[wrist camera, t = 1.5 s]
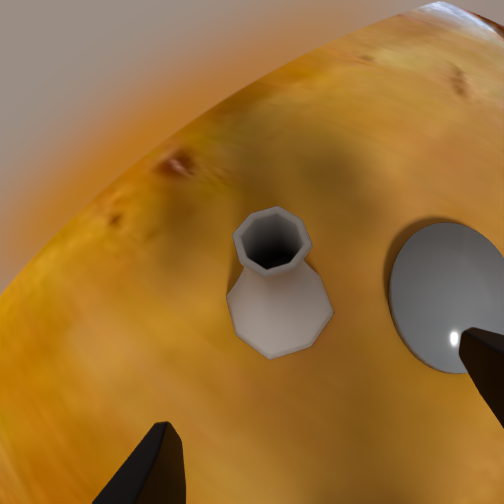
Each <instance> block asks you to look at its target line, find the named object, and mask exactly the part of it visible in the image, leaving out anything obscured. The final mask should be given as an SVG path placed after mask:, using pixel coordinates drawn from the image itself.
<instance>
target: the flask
mask: <svg viewBox="0 0 504 504" xmlns="http://www.w3.org/2000/svg"><path fill="white" fill-rule="evenodd" d="M232 236H233V240H234V243H235V247H236V250H237V254H238V257H239V261H240V263H241V264H242V265H243V266H244V269H243V271H242V273H241V275H240V277H239V278H238V280H237V282H236V284H235V285H234V286H233V288H232V289H231V290H230V292H229V293H228V295H227V296H226V300H227V304H228V308H229V311H230V315H231V319H232V323H233V326H234V330H235V334H236V336H238V337H239V338H240V339H242V340H243V341H244V342H246V343H247V344H248V345H250V346H251V347H252V348H254V349H255V350H257V351H258V352H259V353H261V354H262V355H263V356H265V357H266V358H268V359H269V360H271V359H274V358H277V357H281V356H284V355H287V354H290V353H293V352H297V351H300V350H303V349H306V348H309V347H311V346H312V344H313V343H314V341H315V340H316V339H317V337H318V336H319V334H320V333H321V331H322V330H323V329H324V327H325V326H326V324H327V323H328V321H329V320H330V318H331V317H332V315H333V314H334V311H333V309H332V306H331V303H330V301H329V298H328V295H327V293H326V290H325V287H324V285H323V282H322V280H321V277H320V276H319V275H318V274H317V273H316V272H315V271H314V270H313V269H311V268H310V267H309V266H308V264H307V263H306V262H305V261H304V258H305V257H306V255H307V254H308V253H309V251H310V250H311V248H312V242H311V240H310V237H309V235H308V232H307V230H306V228H305V225H304V223H303V221H302V219H300V218H299V217H297V216H295V215H293V214H292V213H290V212H288V211H286V210H285V209H283V208H281V207H279V206H275V207H272V208H268V209H265V210H261V211H258V212H255V213H251V214H250V215H249V216H248V217H247V218H246V219H245V220H244V222H243V223H242V224H241V225H240V226H239V227H238V229H237V230H236V231H235V232H234V233H233V234H232Z"/></svg>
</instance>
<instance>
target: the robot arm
mask: <svg viewBox="0 0 504 504" xmlns="http://www.w3.org/2000/svg"><path fill="white" fill-rule="evenodd" d="M459 357H460V360H461V361H462V363H463V365H464V366H465V368H466V370H467V372H468V373H469V375H470V377H471V379H472V380H473V382H474V384H475V386H476V388H477V389H478V391H479V393H480V394H481V396H482V397H483V399H484V400H485V402H486V403H487V404H488V406H489V407H490V409H491V410H492V412H493V413H494V415H495V416H496V418H497V419H498V421H499V422H500V424H501V425H502V427H503V428H504V335H502V334H498V333H495V332H491V331H487V330H483V329H480V328H476V327H470V328H468V329H466V330H464V331H463V332H462V334H461V338H460V345H459ZM92 504H186V480H185V470H184V459H183V448H182V441H181V439H180V437H179V435H178V434H177V432H176V431H175V429H174V428H173V426H172V424H171V423H170V422H167V421H165V422H157V423H155V424H154V425H153V426H152V428H151V429H150V430H149V431H148V433H147V434H146V435H145V437H144V438H143V439H142V440H141V442H140V443H139V444H138V446H137V447H136V448H135V449H134V451H133V452H132V453H131V454H130V456H129V457H128V458H127V460H126V461H125V462H124V463H123V465H122V466H121V467H120V468H119V470H118V471H117V472H116V473H115V475H114V476H113V477H112V478H111V480H110V481H109V482H108V483H107V485H106V486H105V487H104V488H103V490H102V491H101V492H100V493H99V495H98V496H97V497H96V498H95V499H94V501H93V502H92Z"/></svg>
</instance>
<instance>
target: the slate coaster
mask: <svg viewBox="0 0 504 504" xmlns="http://www.w3.org/2000/svg"><path fill="white" fill-rule="evenodd" d="M388 300H389V307H390V313H391V317H392V320H393V323H394V326H395V328H396V330H397V332H398V335H399V336H400V338H401V340H402V341H403V343H404V344H405V346H406V347H407V348H408V350H409V351H410V352H411V353H412V354H413V355H414V356H415V357H416V358H417V359H418V360H420V361H421V362H422V363H424V364H425V365H427V366H428V367H430V368H432V369H434V370H437V371H440V372H443V373H449V374H462V373H468V372H467V370H466V368H465V366H464V365H463V363H462V361H461V360H460V357H459V345H460V338H461V334H462V332H463V331H464V330H466V329H468V328H470V327H476V328H480V329H483V330H487V331H491V332H495V333H498V334H502V335H504V258H503V256H502V255H501V253H500V252H499V251H498V249H497V248H496V247H495V246H494V245H493V244H492V243H491V242H490V241H489V240H488V239H487V238H486V237H484V236H483V235H482V234H480V233H478V232H477V231H475V230H473V229H471V228H469V227H467V226H464V225H460V224H455V223H436V224H432V225H429V226H427V227H424V228H422V229H421V230H419V231H417V232H416V233H415V234H414V235H412V236H411V237H410V238H409V239H408V241H407V242H406V243H405V244H404V246H403V247H402V249H401V250H400V252H399V254H398V255H397V257H396V259H395V261H394V263H393V266H392V269H391V272H390V277H389V283H388Z"/></svg>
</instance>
